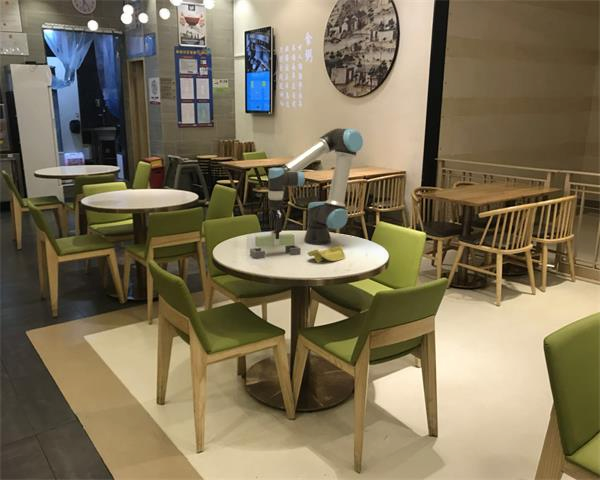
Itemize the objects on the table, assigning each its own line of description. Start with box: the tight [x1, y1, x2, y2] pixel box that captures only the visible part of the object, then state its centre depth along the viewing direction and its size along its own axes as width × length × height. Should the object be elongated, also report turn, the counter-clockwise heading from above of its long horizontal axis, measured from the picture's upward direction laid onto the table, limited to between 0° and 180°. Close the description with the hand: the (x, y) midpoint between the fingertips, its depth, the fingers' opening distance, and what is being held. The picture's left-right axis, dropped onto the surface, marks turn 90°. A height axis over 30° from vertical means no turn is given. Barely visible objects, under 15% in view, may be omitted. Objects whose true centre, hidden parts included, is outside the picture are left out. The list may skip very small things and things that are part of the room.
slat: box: [254, 233, 295, 248], centre depth 265 cm, size 20×4×5 cm, turn 113°
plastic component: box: [306, 245, 346, 263], centre depth 259 cm, size 20×7×10 cm
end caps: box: [249, 244, 301, 260], centre depth 267 cm, size 25×7×4 cm, turn 113°
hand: (275, 243), depth 265 cm, fingers closed on slat, 3 cm apart
